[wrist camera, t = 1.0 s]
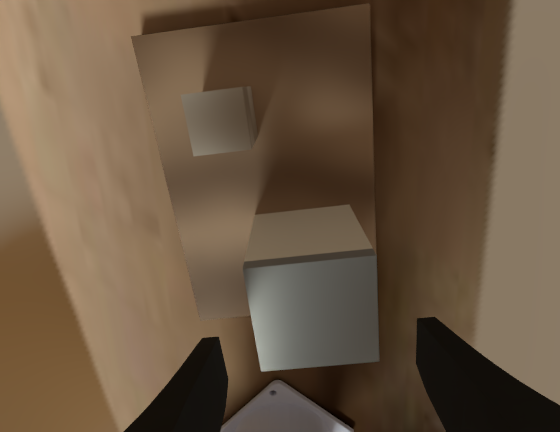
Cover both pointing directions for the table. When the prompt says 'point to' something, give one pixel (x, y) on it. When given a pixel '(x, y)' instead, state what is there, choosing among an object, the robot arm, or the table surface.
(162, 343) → the table surface
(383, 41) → the table surface
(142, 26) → the table surface
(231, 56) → the stand
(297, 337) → the matte gray cube
